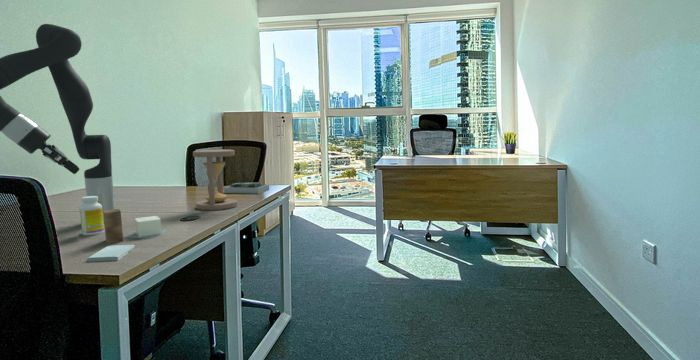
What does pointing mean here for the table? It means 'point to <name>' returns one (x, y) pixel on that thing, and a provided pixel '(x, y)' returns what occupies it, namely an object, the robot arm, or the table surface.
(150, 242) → the table surface
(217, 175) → the hourglass
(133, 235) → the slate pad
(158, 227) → the cream block
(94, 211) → the supplement bottle
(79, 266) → the table surface
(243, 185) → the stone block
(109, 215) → the walnut pillar
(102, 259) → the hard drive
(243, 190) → the grey organizer frame
